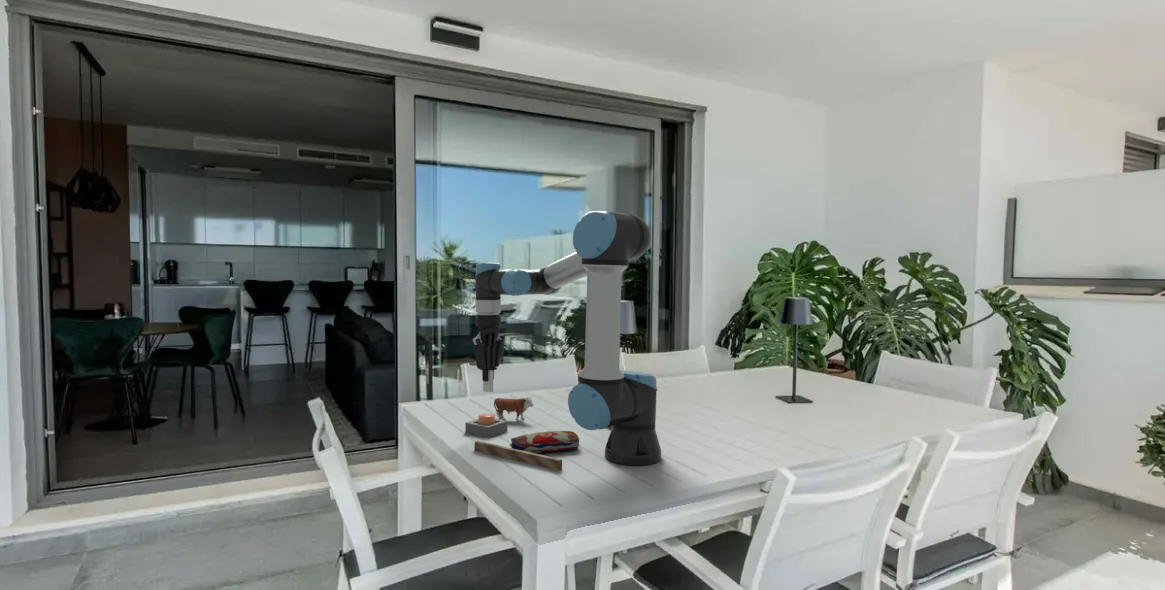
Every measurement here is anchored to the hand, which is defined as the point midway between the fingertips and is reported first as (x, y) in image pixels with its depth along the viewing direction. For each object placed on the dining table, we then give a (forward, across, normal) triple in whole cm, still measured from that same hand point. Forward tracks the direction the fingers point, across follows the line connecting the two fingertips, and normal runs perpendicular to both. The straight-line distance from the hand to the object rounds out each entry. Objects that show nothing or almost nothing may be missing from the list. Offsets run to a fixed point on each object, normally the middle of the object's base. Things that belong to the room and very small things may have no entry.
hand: (488, 391), depth 187 cm
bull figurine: (+13, -16, -3) cm, 21 cm away
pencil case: (+14, +5, +24) cm, 28 cm away
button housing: (+13, 0, -1) cm, 13 cm away
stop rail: (+13, +16, +23) cm, 31 cm away
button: (+12, 0, -1) cm, 12 cm away
